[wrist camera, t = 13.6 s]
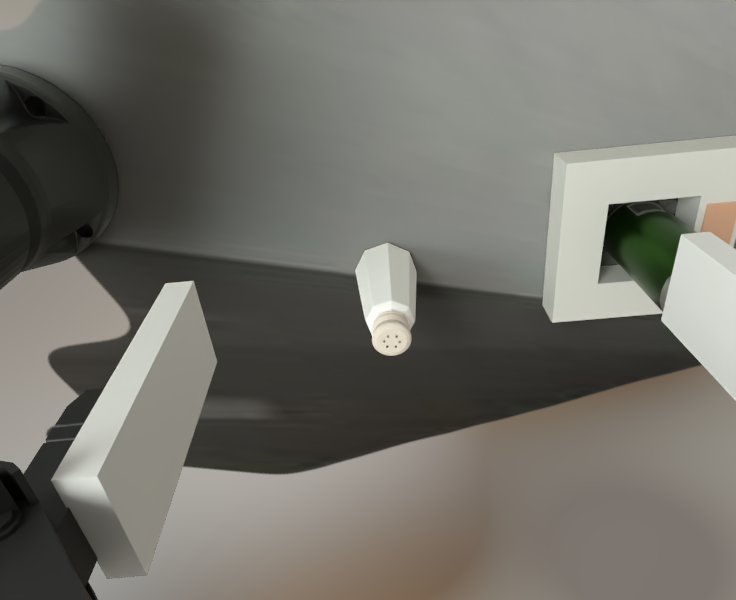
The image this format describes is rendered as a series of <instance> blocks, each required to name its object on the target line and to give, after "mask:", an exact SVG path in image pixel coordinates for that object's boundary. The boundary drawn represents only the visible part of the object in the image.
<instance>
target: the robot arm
mask: <svg viewBox="0 0 736 600" xmlns="http://www.w3.org/2000/svg"><path fill="white" fill-rule="evenodd" d="M117 198H118V179H117V172H116V168H115V164H114V161H113V158H112V155H111V152H110V150H109V148H108V145H107V143H106V142H105V140H104V138H103V136H102V134H101V133H100V131H99V130H98V128H97V127H96V125H95V124H94V123H93V121H92V120H91V119H90V117H89V116H88V115H87V114H86V113H85V112H84V111H83V110H82V109H81V108H80V107H79V106H78V105H77V104H76V103H75V102H74V101H73V100H72V99H71V98H70V97H68V96H67V95H66V94H65V93H63V92H62V91H61V90H59V89H58V88H56V87H55V86H53V85H52V84H50V83H48V82H47V81H45V80H43V79H41V78H39V77H37V76H35V75H33V74H30V73H28V72H25V71H22V70H19V69H16V68H12V67H8V66H3V65H0V290H1V289H2V288H3V287H4V286H5V285H7V284H8V283H9V282H10V281H11V280H12V279H13V278H15V277H16V276H17V275H18V274H19V273H20V272H24V271H27V270H31V269H35V268H39V267H43V266H47V265H50V264H54V263H58V262H61V261H64V260H67V259H69V258H71V257H73V256H75V255H77V254H78V253H80V252H82V251H83V250H84V249H86V248H87V247H88V246H89V245H90V244H91V243H92V242H93V241H95V240H96V239H97V238H98V237H99V236H100V235H101V234H102V233H103V231H104V230H105V229H106V228H107V226H108V224H109V223H110V221H111V219H112V217H113V214H114V212H115V208H116V204H117ZM661 321H662V322H663V323H664V324H665V325H666V326H667V327H668V328H669V329H670V331H671V332H672V333H673V334H674V335H675V336H676V337H677V338H678V339H679V340H680V341H681V342H682V343H683V345H684V346H685V347H686V348H687V349H688V350H689V351H690V352H691V353H692V354H693V355H694V356H695V357H696V359H697V360H698V361H699V362H700V363H701V364H702V365H703V366H704V367H705V368H706V369H707V370H708V371H709V372H710V374H711V375H712V376H713V377H714V378H715V379H716V380H717V381H718V382H719V383H720V384H721V385H722V387H723V388H724V389H725V390H726V391H727V392H728V393H729V394H730V395H731V396H732V397H733V398H734V399H735V401H736V249H734V248H733V247H731V246H730V245H728V244H727V243H726V242H724V241H723V240H721V239H720V238H718V237H717V236H715V235H714V234H713V233H711V232H700V233H690V234H681V237H680V241H679V245H678V250H677V254H676V258H675V263H674V267H673V271H672V276H671V280H670V284H669V288H668V293H667V297H666V301H665V306H664V310H663V314H662V318H661ZM216 364H217V360H216V356H215V353H214V349H213V346H212V342H211V339H210V336H209V332H208V329H207V325H206V322H205V318H204V315H203V311H202V308H201V305H200V301H199V298H198V294H197V291H196V287H195V284H194V281H186V282H175V283H165V285H164V287H163V288H162V290H161V292H160V294H159V295H158V297H157V299H156V300H155V302H154V304H153V306H152V307H151V309H150V311H149V313H148V314H147V316H146V318H145V319H144V321H143V323H142V325H141V326H140V328H139V330H138V331H137V333H136V335H135V337H134V338H133V340H132V342H131V343H130V345H129V347H128V349H127V350H126V352H125V354H124V355H123V357H122V359H121V361H120V362H119V364H118V366H117V367H116V369H115V371H114V373H113V374H112V376H111V378H110V379H109V381H108V383H107V385H106V386H105V388H103V389H92V390H86V391H85V392H83V393H82V394H81V395H80V396H79V397H78V398H77V399H76V400H74V401H73V402H72V403H71V404H70V405H68V406H67V407H66V409H65V411H64V412H63V414H62V415H61V417H60V418H59V420H58V422H57V423H56V428H53V429H52V431H51V432H50V434H49V435H48V437H47V439H46V443H44V444H43V445H42V446H41V448H40V449H39V451H38V452H37V454H36V456H35V457H34V459H33V460H32V462H31V464H30V465H29V467H28V468H27V470H26V471H25V473H24V474H23V473H22V472H21V470H20V469H19V468H18V467H17V466H16V465H15V464H14V463H11V462H4V461H0V600H98V599H97V597H96V595H95V593H94V591H93V589H92V587H91V586H90V584H89V582H88V580H89V578H90V575H91V573H92V571H93V568H94V566H95V563H96V561H97V562H98V564H99V565H100V567H101V569H102V571H103V572H104V574H105V576H106V578H107V579H112V578H123V577H134V576H145V575H147V574H148V571H149V567H150V565H151V562H152V558H153V555H154V553H155V550H156V546H157V543H158V540H159V537H160V534H161V531H162V528H163V525H164V522H165V519H166V516H167V513H168V510H169V507H170V504H171V501H172V498H173V495H174V491H175V489H176V486H177V483H178V480H179V476H180V473H181V470H182V467H183V464H184V461H185V458H186V455H187V452H188V449H189V446H190V443H191V440H192V437H193V434H194V431H195V428H196V425H197V422H198V419H199V416H200V413H201V410H202V406H203V403H204V400H205V397H206V394H207V391H208V388H209V385H210V382H211V379H212V376H213V373H214V370H215V367H216Z"/></svg>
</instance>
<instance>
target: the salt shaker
mask: <svg viewBox="0 0 736 600" xmlns="http://www.w3.org/2000/svg"><path fill="white" fill-rule="evenodd" d="M355 272H356V277H357V282H358V287H359V292H360V297H361V302H362V308H363V313H364V317H365V320H366V323H367V325H368V328H369V330H370V332H371V334H372V344H373V346H374V348H375V349H376V350H377V351H378V352H380V353H382V354H384V355H389V356H393V355H398V354H401V353H403V352H404V351H406V350H407V349H408V348H409V346H410V344H411V333H410V329H411V328H412V326H413V324H414V323H415V313H416V279H417V271H416V269H415V266H414V263H413V260H412V258H411V255H410V252H409V251H406V250H404V249H401V248H399V247H397V246H394V245H392V244H389V243H385V244H382V245H380V246H377V247H374V248H371V249H368V250H365V251H364V253H363V255H362V257H361V259H360V261H359V263H358V265H357V267H356V269H355Z"/></svg>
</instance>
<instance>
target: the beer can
mask: <svg viewBox="0 0 736 600" xmlns="http://www.w3.org/2000/svg"><path fill="white" fill-rule="evenodd" d="M690 233H697V232H696V231H694V230H693V229H692V228H690V227H689V226H688V225H686V224H685V223H684V222H682V221H681V220H680V219H678V218H677V217H676V216H674V215H673V214H672V213H670V212H669V211H668V210H666V209H665V208H664V207H662V206H661V205H659V204H657V203H656V202H654V201H640V202H629V203H624V204H622V205H620V206H618V207H617V208H616V209H614V210H613V211H612V212H611V213H610V215H609V216H608V217H607V220H606V228H605V235H604V242H603V244H604V248H605V249H606V250H607V251H608V252H609V253H610V255H611V256H612V257H613V258H614V259H615V260H616V261H617V262H618V263H619V265H620V266H621V267H622V268H623V269H624V270H625V271H626V272H627V273H628V274H629V276H630V277H631V278H632V279H633V280H634V281H635V282H636V283H637V284H638V285H639V286H640V288H641V289H642V290H643V291H644V292H645V293H646V294H647V295H648V296H649V297H650V299H651V300H652V301H653V302H654V303H655V304H656V305H657V306H658V307H659V308H660V310H661V311H662V312H663V310H664V306H665V301H666V297H667V293H668V288H669V284H670V280H671V276H672V271H673V267H674V263H675V258H676V254H677V250H678V245H679V241H680V237H681V234H690Z"/></svg>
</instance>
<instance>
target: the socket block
mask: <svg viewBox="0 0 736 600" xmlns="http://www.w3.org/2000/svg"><path fill="white" fill-rule="evenodd" d="M672 198H678V203H677V208H676V213H675V216H676V217H677V218H678V219H680V220H681V221H682V222H684V223H685V224H686V225H688V226H689V227H690V228H692V229H693V230H694V231H696V232H697V233H700V232H711V233H713V234H714V235H715V236H717V237H718V238H720V239H721V240H723V241H724V242H726V243H727V244H728V245H730V246H731V247H734V243H735V240H736V135H734V136H724V137H714V138H703V139H693V140H683V141H672V142H662V143H652V144H641V145H631V146H621V147H611V148H600V149H590V150H580V151H569V152H559V153H554V163H553V176H552V188H551V201H550V214H549V226H548V239H547V251H546V264H545V277H544V289H543V302H542V305H543V307H544V309H545V311H546V313H547V314H548V316H549V318H550V320H551V321H552V323H554V322H566V321H578V320H590V319H602V318H613V317H625V316H637V315H649V314H661V313H663V312H662V311H661V310H660V308H659V307H658V306H657V305H656V304H655V303H654V302H653V301H652V300H651V299H650V297H649V296H648V295H647V294H646V293H645V292H644V291H643V290H642V289H641V288H640V286H639V285H638V284H637V283H636V282H635V281H634V280H633V279H632V278H631V277H630V276H629V274H628V273H627V272H626V271H625V270H624V269H623V268H622V267H621V266H620V265H609V266H600V264H601V257H602V250H603V242H604V235H605V228H606V220H607V213H608V206H609V204H618V203H629V202H640V201H651V200H661V199H672Z"/></svg>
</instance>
